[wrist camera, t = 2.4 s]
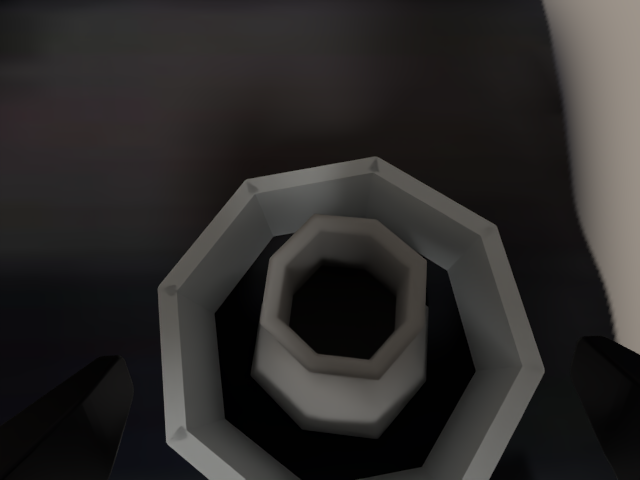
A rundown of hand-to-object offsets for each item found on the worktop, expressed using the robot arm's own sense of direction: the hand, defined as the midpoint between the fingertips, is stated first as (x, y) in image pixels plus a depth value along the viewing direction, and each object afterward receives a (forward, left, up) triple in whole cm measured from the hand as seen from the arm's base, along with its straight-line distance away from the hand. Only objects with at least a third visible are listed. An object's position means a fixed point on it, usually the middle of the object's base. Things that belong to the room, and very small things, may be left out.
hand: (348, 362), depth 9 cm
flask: (+1, 0, -9) cm, 9 cm away
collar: (+1, 0, -9) cm, 9 cm away
